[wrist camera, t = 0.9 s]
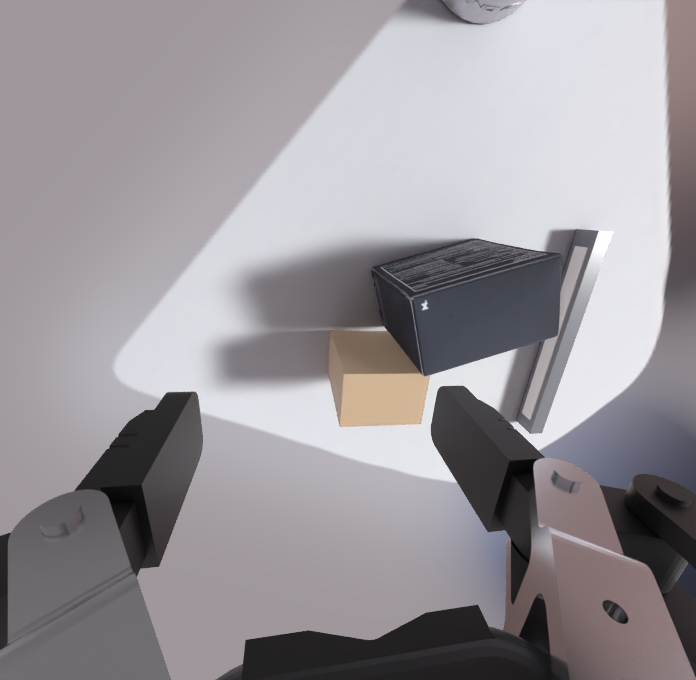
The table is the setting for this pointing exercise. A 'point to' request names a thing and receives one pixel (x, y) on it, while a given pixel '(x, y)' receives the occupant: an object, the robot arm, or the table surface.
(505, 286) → the small box
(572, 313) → the rail
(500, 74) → the table surface
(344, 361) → the kraft carton
